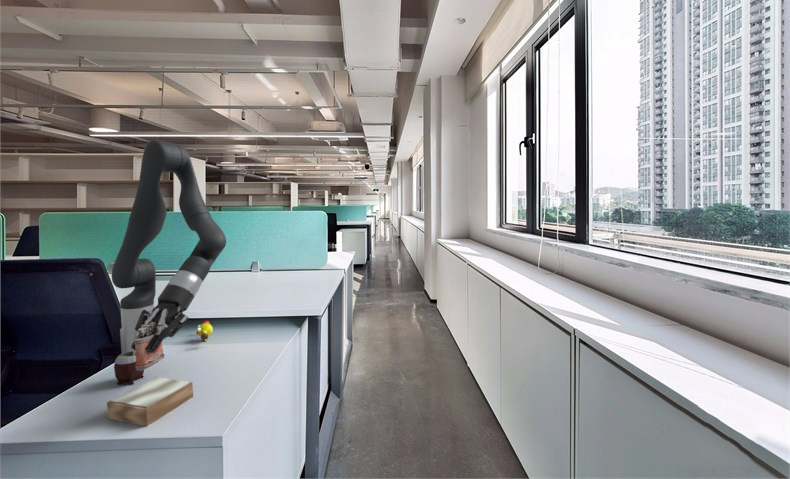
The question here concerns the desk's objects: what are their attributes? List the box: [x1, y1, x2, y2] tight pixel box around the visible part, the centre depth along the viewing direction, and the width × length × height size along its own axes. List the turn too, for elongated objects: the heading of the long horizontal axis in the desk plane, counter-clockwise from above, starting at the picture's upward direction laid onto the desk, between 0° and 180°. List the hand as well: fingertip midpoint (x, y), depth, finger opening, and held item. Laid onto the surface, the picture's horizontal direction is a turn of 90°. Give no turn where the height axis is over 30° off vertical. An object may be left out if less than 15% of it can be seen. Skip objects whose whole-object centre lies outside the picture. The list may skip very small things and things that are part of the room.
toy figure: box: [196, 320, 214, 342], centre depth 131 cm, size 18×6×7 cm, turn 27°
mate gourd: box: [113, 331, 145, 386], centre depth 100 cm, size 8×8×15 cm
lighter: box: [134, 322, 165, 371], centre depth 86 cm, size 8×3×10 cm, turn 0°
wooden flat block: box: [106, 376, 194, 427], centre depth 87 cm, size 12×13×4 cm
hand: (142, 350), depth 84 cm, fingers closed on lighter, 4 cm apart
